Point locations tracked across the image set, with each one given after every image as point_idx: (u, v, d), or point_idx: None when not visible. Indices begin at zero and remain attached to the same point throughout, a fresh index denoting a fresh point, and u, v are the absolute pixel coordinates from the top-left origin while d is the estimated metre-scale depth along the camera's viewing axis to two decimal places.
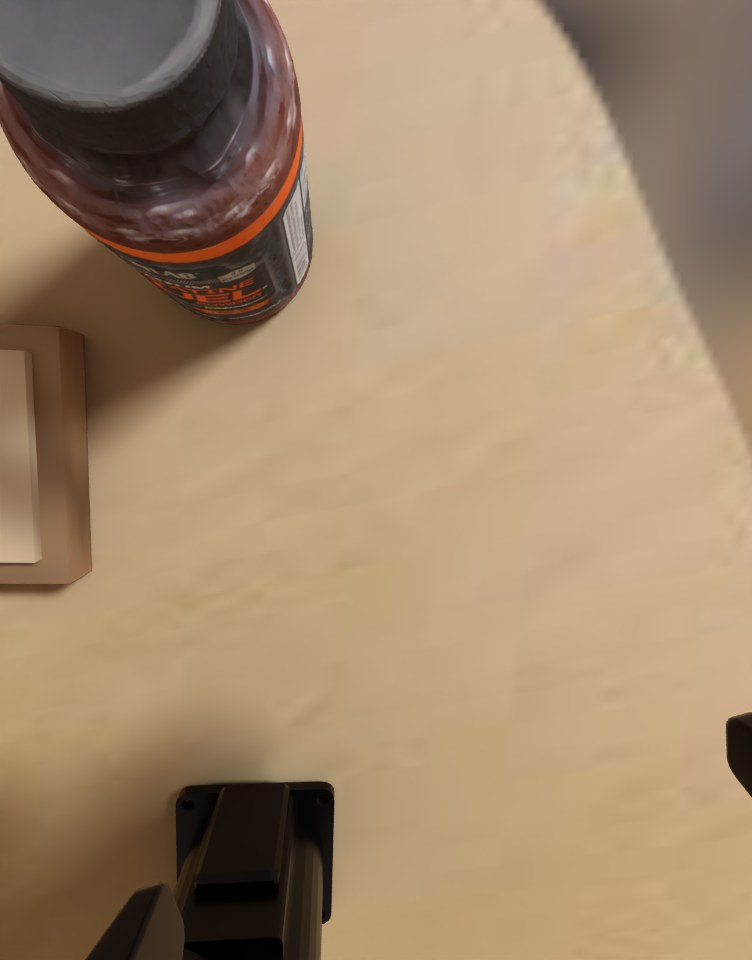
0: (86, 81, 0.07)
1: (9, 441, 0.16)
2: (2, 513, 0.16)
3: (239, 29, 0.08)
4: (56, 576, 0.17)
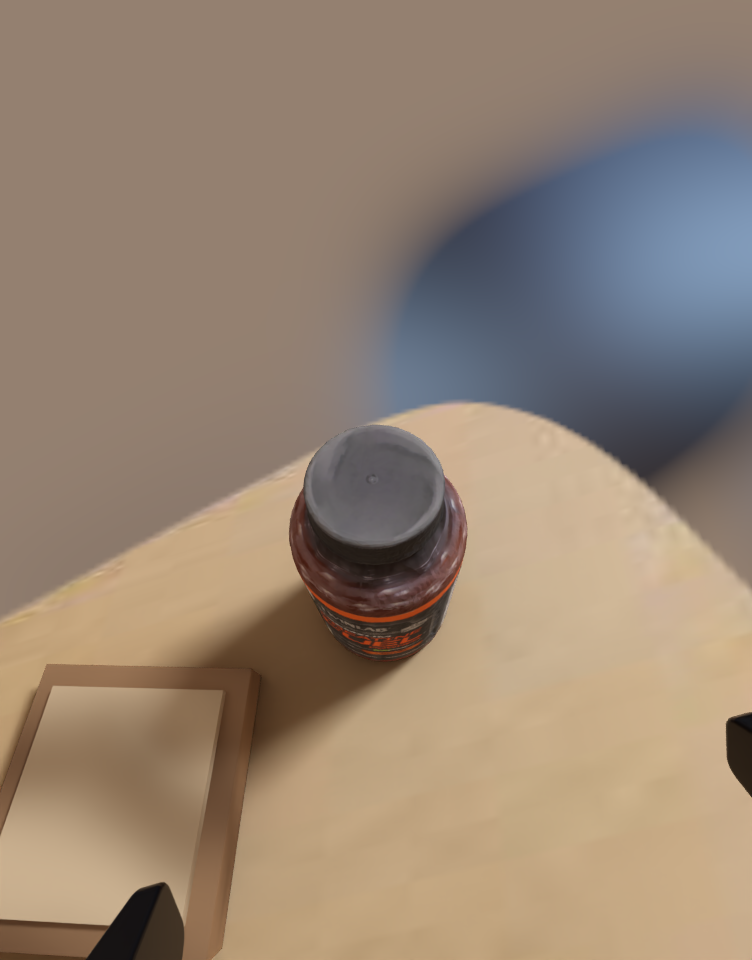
0: (375, 535, 0.12)
1: (191, 777, 0.18)
2: (165, 861, 0.16)
3: None
4: (194, 952, 0.15)
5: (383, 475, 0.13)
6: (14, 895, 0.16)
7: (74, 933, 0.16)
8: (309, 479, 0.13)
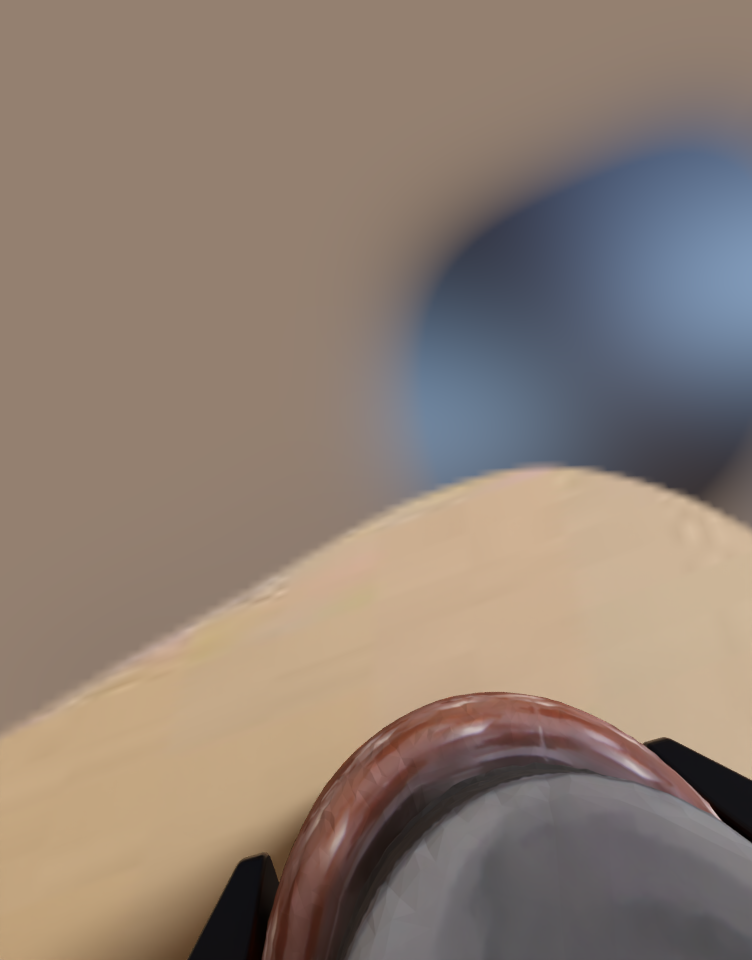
0: None
1: None
2: None
3: None
4: None
5: None
6: None
7: None
8: None
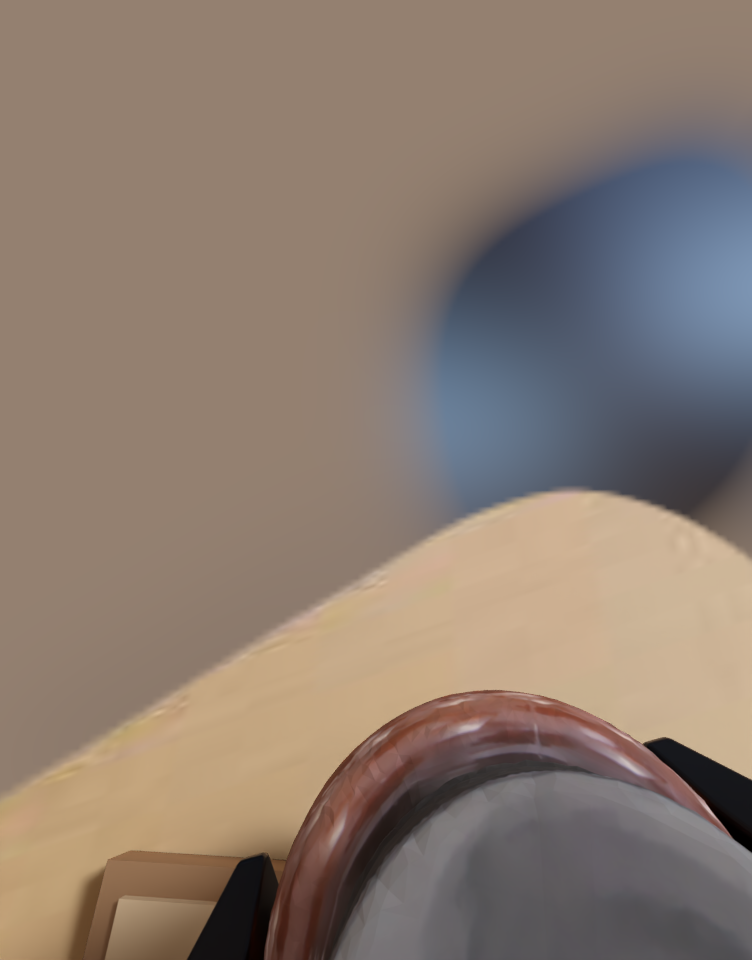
0: None
1: None
2: None
3: None
4: None
5: None
6: None
7: None
8: None
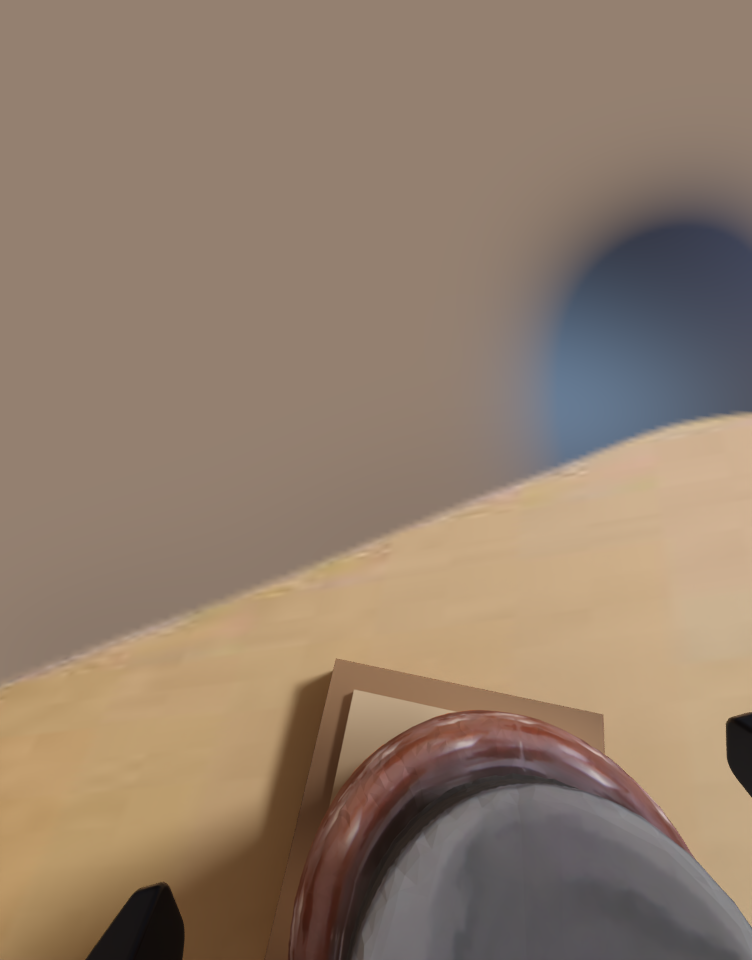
0: None
1: None
2: None
3: None
4: None
5: None
6: None
7: None
8: None
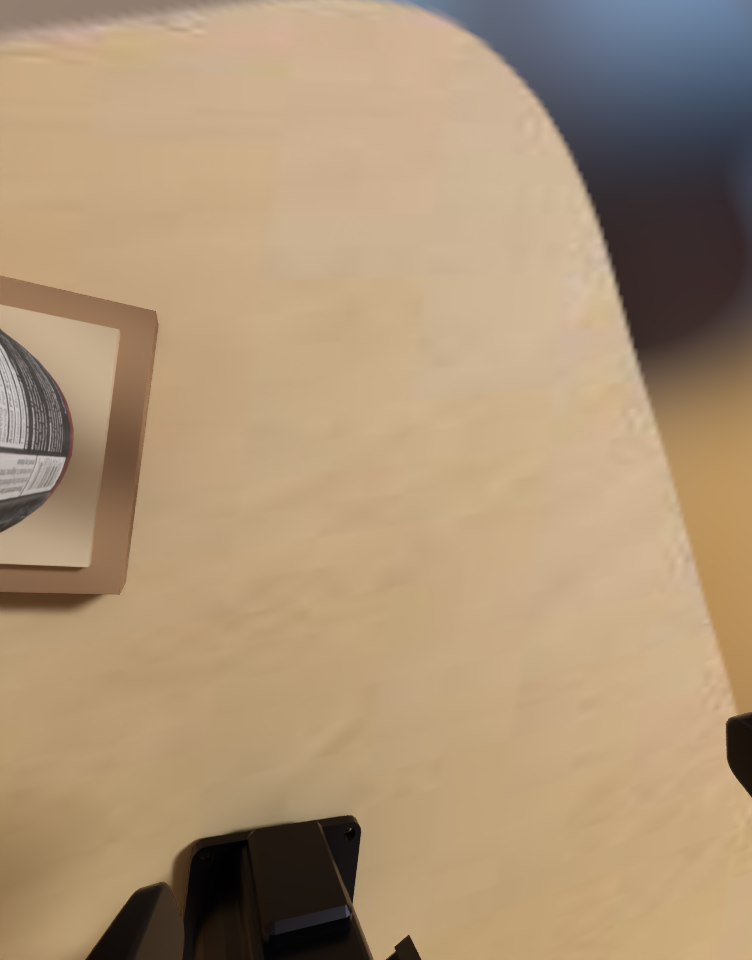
0: None
1: (83, 425, 0.14)
2: (58, 507, 0.14)
3: None
4: (105, 585, 0.15)
5: None
6: None
7: None
8: None
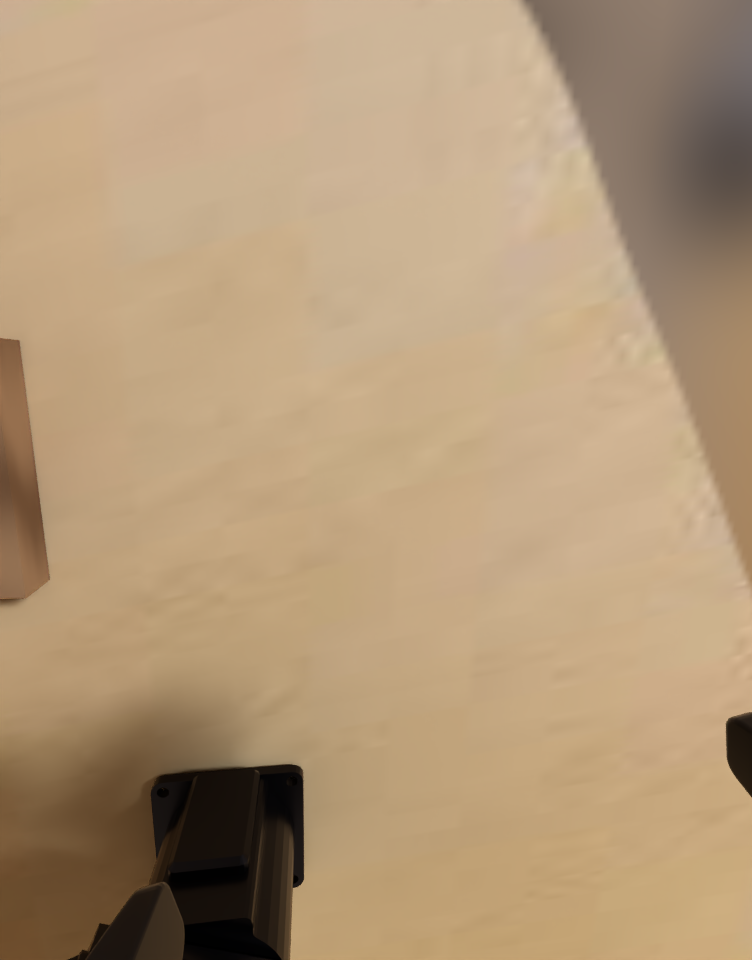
0: None
1: None
2: None
3: None
4: (11, 591, 0.17)
5: None
6: None
7: None
8: None
